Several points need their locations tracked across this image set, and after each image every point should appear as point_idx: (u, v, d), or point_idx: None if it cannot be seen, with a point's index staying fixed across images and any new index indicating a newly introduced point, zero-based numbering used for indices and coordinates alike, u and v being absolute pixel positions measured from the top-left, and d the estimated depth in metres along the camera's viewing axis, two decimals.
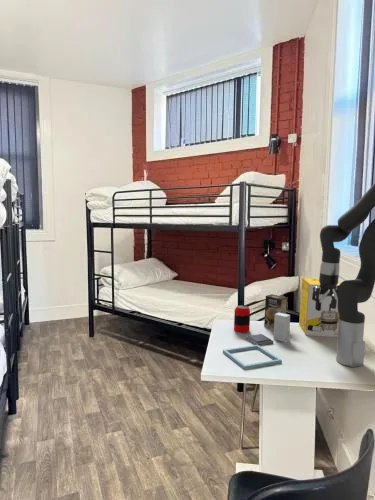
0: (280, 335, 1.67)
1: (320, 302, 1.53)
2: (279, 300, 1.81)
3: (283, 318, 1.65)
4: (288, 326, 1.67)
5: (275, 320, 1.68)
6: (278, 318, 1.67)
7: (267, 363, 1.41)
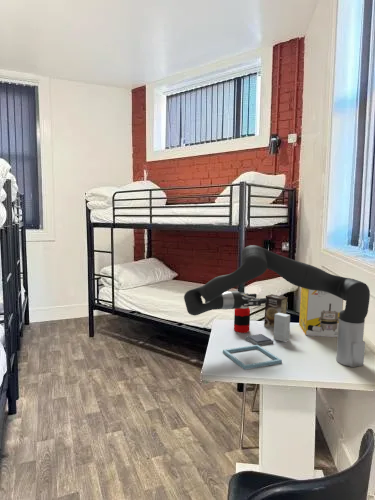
0: (280, 335, 1.67)
1: (259, 298, 1.57)
2: (279, 300, 1.81)
3: (283, 318, 1.65)
4: (288, 326, 1.67)
5: (275, 320, 1.68)
6: (278, 318, 1.67)
7: (267, 363, 1.41)
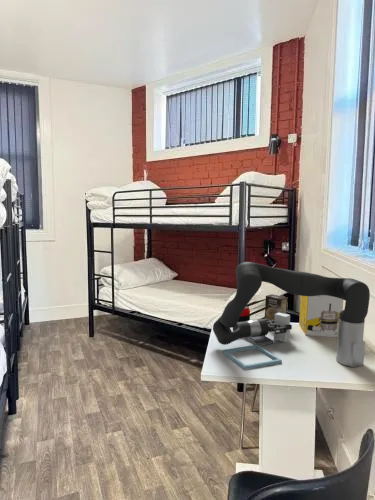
0: (280, 335, 1.67)
1: (284, 325, 1.64)
2: (279, 300, 1.81)
3: (283, 318, 1.65)
4: None
5: (275, 320, 1.68)
6: (278, 318, 1.67)
7: (267, 363, 1.41)
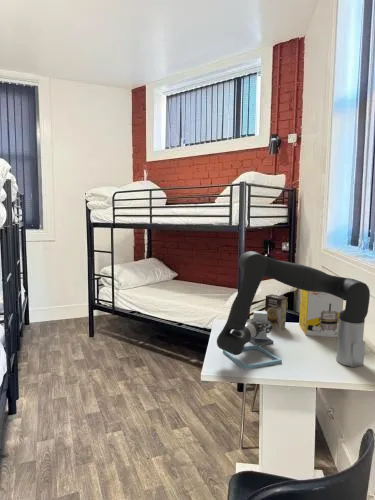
0: (261, 333, 1.64)
1: (267, 322, 1.61)
2: (279, 300, 1.81)
3: (264, 315, 1.63)
4: None
5: (255, 319, 1.63)
6: (258, 316, 1.63)
7: (267, 363, 1.41)
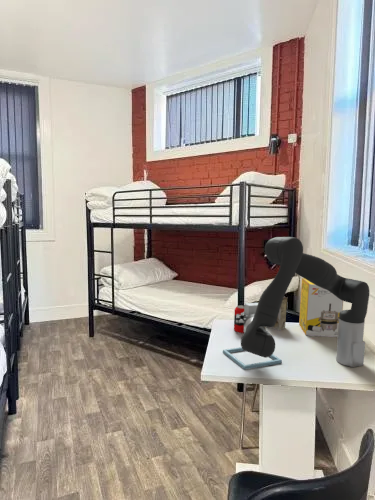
0: None
1: None
2: None
3: None
4: None
5: (250, 312, 1.43)
6: (253, 309, 1.43)
7: (267, 363, 1.41)
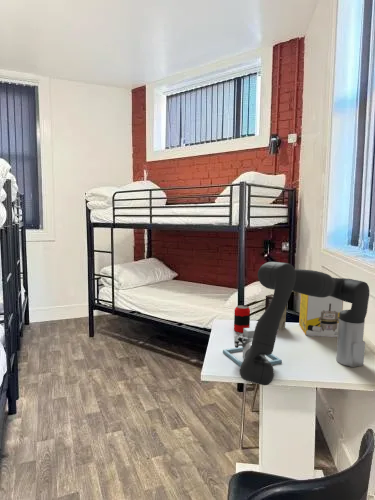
0: None
1: None
2: None
3: None
4: None
5: (249, 338, 1.44)
6: (252, 334, 1.44)
7: None
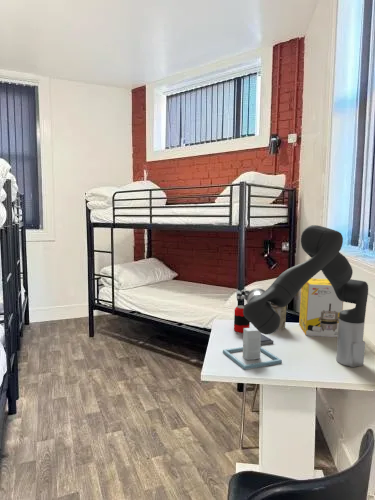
0: (255, 353, 1.46)
1: None
2: None
3: (258, 332, 1.45)
4: None
5: (249, 338, 1.44)
6: (252, 334, 1.44)
7: (267, 363, 1.41)
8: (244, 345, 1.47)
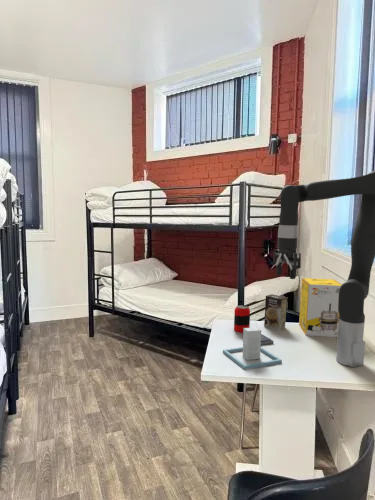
0: (255, 353, 1.46)
1: None
2: (279, 300, 1.81)
3: (258, 332, 1.45)
4: None
5: (249, 338, 1.44)
6: (252, 334, 1.44)
7: (267, 363, 1.41)
8: (244, 345, 1.47)
